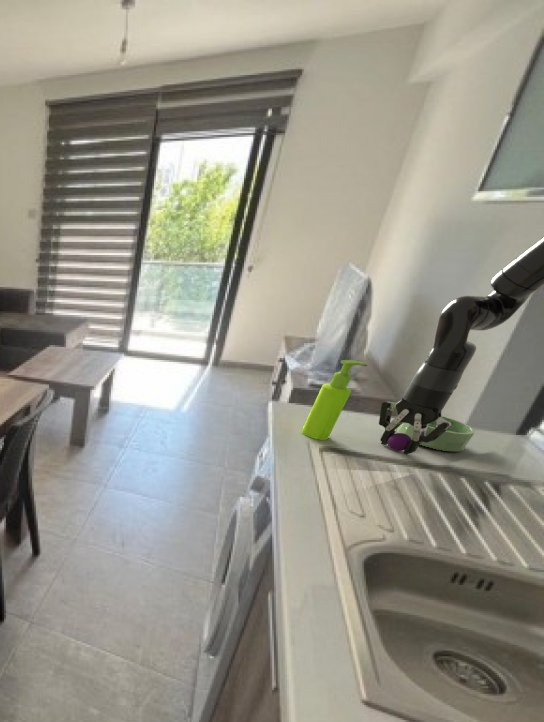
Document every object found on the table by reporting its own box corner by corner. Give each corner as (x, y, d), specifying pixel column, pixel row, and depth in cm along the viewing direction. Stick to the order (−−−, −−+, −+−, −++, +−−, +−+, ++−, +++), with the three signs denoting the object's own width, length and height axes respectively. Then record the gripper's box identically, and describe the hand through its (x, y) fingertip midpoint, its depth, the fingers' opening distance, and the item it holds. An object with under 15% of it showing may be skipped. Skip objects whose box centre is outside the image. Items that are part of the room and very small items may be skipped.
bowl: (472, 449, 122) (485, 430, 120) (445, 456, 118) (458, 437, 115) (412, 427, 133) (423, 409, 130) (385, 433, 128) (395, 414, 126)
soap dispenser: (337, 440, 123) (375, 366, 113) (310, 439, 122) (346, 364, 113) (321, 430, 128) (356, 358, 118) (296, 429, 128) (329, 356, 118)
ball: (410, 452, 119) (419, 436, 117) (400, 455, 117) (409, 439, 115) (390, 444, 122) (398, 429, 120) (380, 446, 121) (388, 431, 119)
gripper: (389, 375, 116) (355, 438, 124) (462, 397, 104) (420, 465, 113) (406, 372, 119) (372, 434, 127) (480, 394, 107) (438, 460, 115)
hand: (395, 448), depth 120 cm, fingers closed on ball, 4 cm apart
